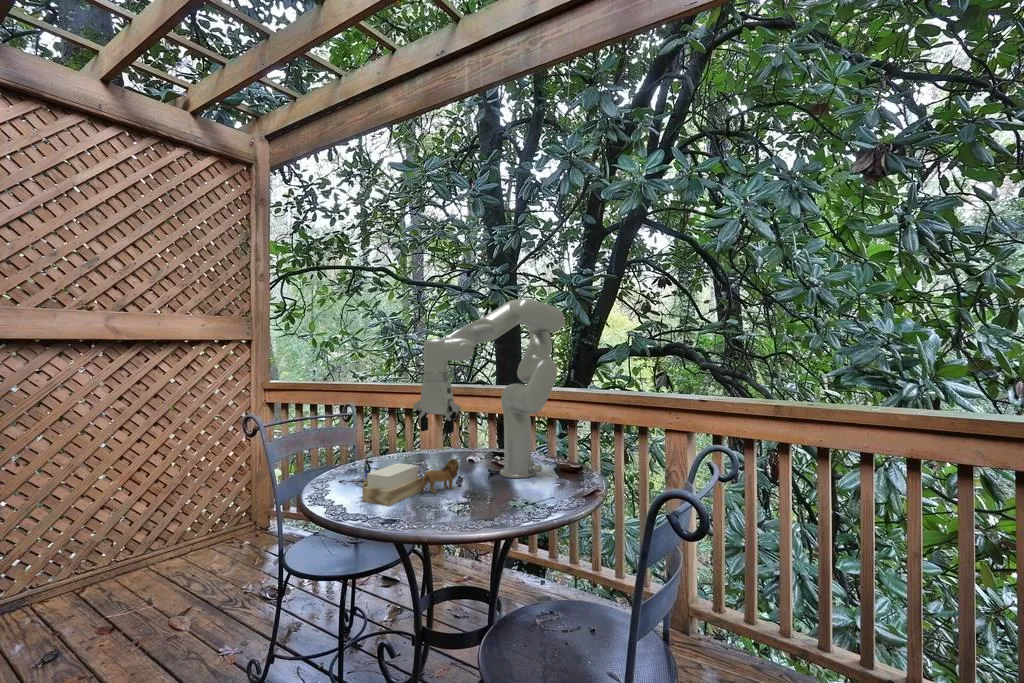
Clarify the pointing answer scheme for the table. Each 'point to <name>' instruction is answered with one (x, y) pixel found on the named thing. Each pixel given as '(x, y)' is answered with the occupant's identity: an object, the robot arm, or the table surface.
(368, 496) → the oak base brick
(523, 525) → the table surface
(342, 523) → the table surface
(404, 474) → the cream brick
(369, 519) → the table surface
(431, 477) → the lion figurine
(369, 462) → the figurine
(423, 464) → the table surface
